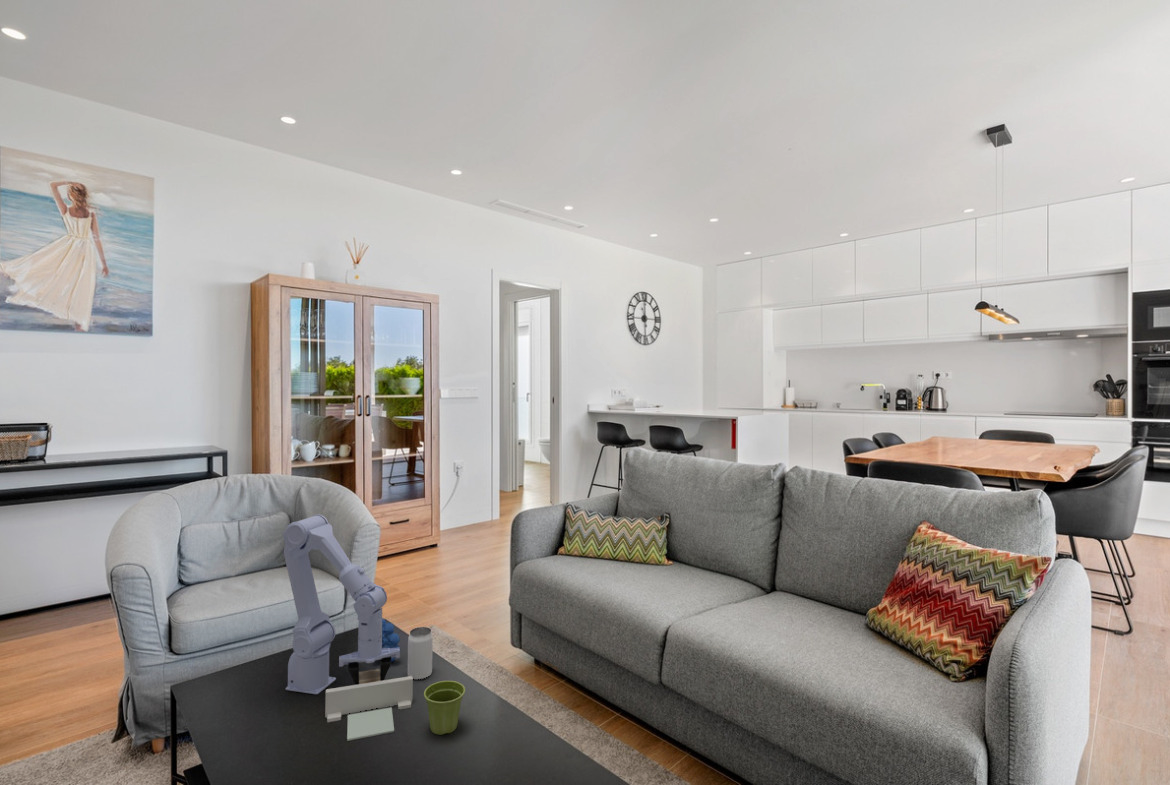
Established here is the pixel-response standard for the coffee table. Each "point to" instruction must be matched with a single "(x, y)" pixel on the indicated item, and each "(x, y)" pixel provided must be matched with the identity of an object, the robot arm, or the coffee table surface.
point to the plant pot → (444, 705)
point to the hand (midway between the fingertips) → (369, 688)
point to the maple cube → (369, 676)
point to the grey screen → (368, 697)
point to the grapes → (389, 636)
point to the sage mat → (370, 724)
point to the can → (420, 653)
